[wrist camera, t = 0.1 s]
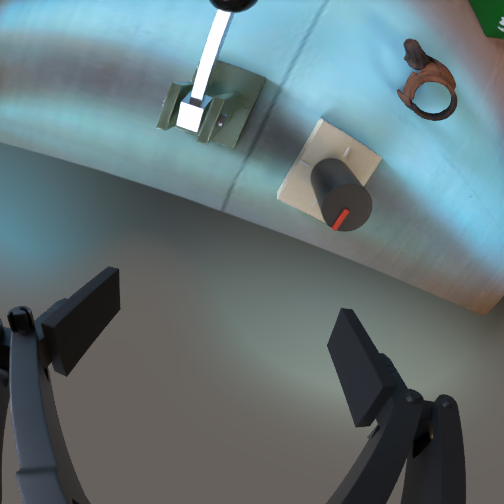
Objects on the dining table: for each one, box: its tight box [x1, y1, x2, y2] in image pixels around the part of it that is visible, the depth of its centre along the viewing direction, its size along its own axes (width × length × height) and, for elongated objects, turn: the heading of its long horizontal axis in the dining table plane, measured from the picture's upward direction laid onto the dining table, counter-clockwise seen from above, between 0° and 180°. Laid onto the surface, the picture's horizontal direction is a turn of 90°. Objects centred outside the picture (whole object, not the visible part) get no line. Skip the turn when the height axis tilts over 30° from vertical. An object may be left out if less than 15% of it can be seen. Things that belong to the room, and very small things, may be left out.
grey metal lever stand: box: [157, 59, 266, 149], centre depth 26 cm, size 11×9×15 cm
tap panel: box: [277, 118, 382, 224], centre depth 36 cm, size 13×10×3 cm
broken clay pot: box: [397, 39, 457, 121], centre depth 25 cm, size 12×10×8 cm
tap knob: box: [310, 158, 372, 231], centre depth 31 cm, size 6×6×10 cm
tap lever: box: [176, 0, 258, 132], centre depth 17 cm, size 15×4×4 cm, turn 155°
